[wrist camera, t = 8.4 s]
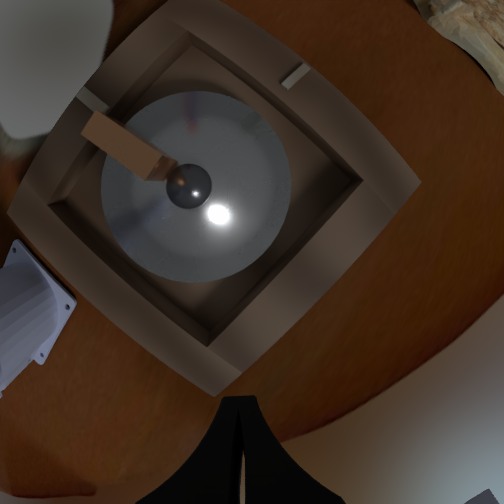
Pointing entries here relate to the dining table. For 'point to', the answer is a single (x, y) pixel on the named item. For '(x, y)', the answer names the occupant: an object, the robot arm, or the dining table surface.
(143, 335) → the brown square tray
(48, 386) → the dining table surface
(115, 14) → the dining table surface
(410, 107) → the dining table surface
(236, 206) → the dial
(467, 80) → the dining table surface
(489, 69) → the ashtray
